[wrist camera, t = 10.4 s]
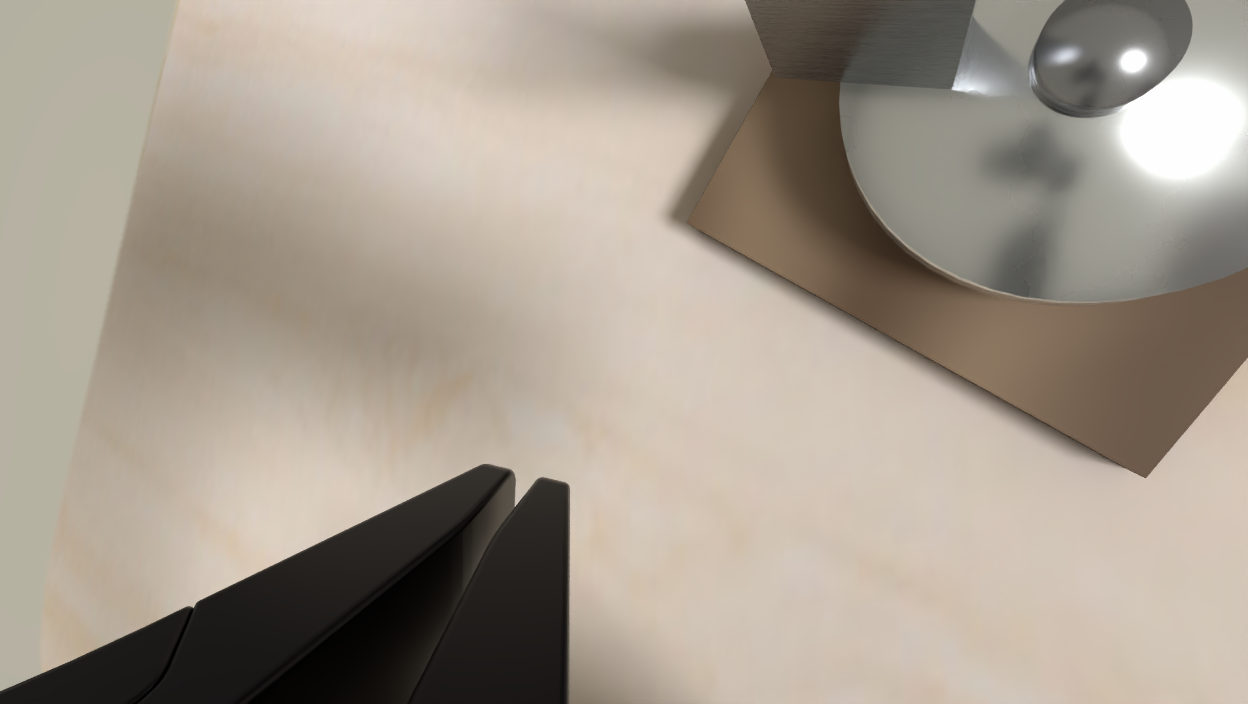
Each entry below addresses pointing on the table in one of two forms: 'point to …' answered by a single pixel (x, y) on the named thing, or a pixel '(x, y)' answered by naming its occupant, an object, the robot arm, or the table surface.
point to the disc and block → (1039, 135)
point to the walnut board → (969, 293)
